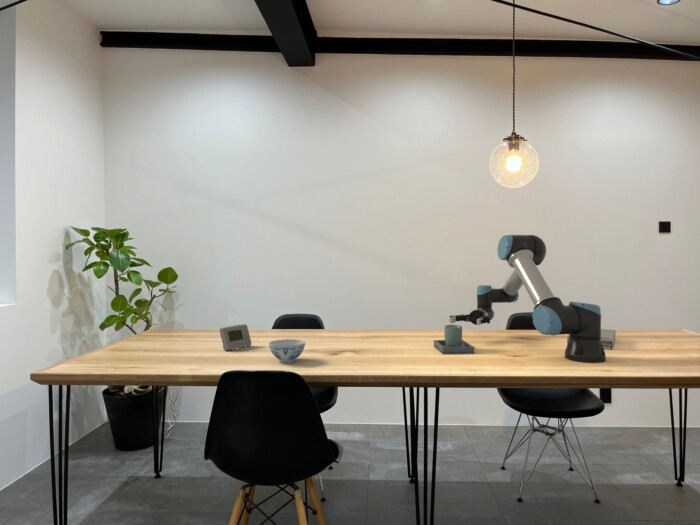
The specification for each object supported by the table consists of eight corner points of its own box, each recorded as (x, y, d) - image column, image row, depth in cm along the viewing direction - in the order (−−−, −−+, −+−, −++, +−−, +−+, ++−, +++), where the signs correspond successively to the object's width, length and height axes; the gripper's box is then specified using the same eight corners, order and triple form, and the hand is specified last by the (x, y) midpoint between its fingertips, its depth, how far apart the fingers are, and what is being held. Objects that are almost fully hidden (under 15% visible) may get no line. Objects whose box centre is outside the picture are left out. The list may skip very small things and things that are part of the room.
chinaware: (265, 358, 200) (265, 340, 200) (300, 355, 205) (300, 338, 205) (272, 366, 186) (272, 347, 186) (309, 363, 191) (309, 344, 191)
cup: (457, 350, 210) (457, 327, 210) (441, 348, 215) (441, 326, 215) (464, 347, 216) (464, 325, 216) (449, 345, 221) (449, 324, 221)
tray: (474, 353, 207) (474, 347, 207) (442, 354, 206) (442, 347, 206) (462, 345, 225) (462, 339, 225) (433, 346, 224) (433, 340, 224)
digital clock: (224, 352, 215) (224, 328, 215) (215, 349, 222) (215, 326, 222) (255, 347, 226) (255, 325, 226) (246, 344, 233) (245, 323, 233)
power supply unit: (567, 347, 221) (566, 336, 221) (574, 336, 250) (574, 327, 250) (612, 351, 212) (612, 340, 212) (615, 339, 240) (615, 330, 240)
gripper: (503, 325, 235) (489, 331, 218) (455, 322, 249) (439, 327, 232) (502, 310, 235) (489, 314, 218) (455, 308, 249) (439, 312, 232)
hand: (463, 321), depth 225 cm, fingers open, 13 cm apart
